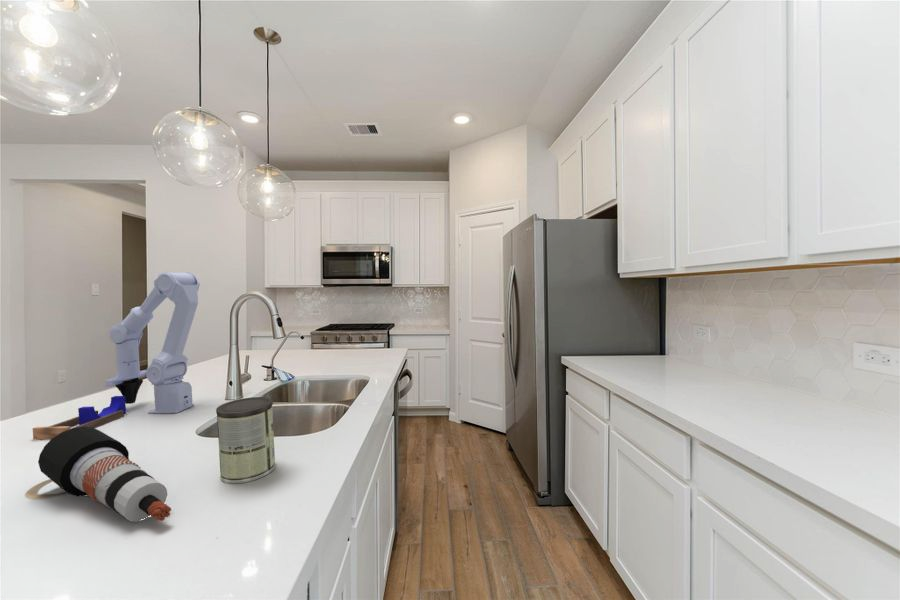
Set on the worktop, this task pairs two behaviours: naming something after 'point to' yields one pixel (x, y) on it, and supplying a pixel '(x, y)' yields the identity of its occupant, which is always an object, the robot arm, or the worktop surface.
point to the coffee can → (245, 439)
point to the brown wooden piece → (56, 429)
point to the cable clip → (89, 412)
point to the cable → (103, 473)
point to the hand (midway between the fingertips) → (130, 403)
